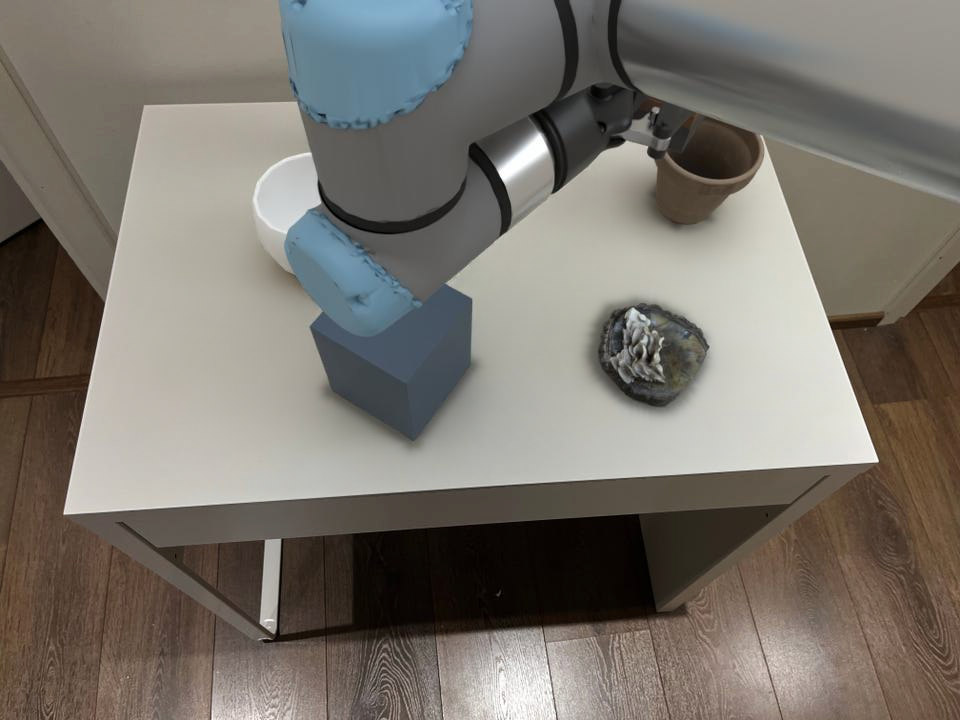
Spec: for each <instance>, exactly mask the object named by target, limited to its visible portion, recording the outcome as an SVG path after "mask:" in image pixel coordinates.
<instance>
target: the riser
mask: <svg viewBox="0 0 960 720" xmlns="http://www.w3.org/2000/svg"><path fill="white" fill-rule="evenodd" d="M473 300H474V299H473V298H472V297H470V296H468V295H466V294H465V293H464V292H461V291H459V290H458V289H456V288H454V287H452V286H451V285H448V284H447V283H445V284H444V285H443V286H442V287H441V288H440V289H438V290H437V291H436V292H435V293H434V294H432V295H431V296H430V297H429V298H428V299H426V300H425V301H424V302H423V303H422V304H423V305H422V306H421V307H420V308H418V309H412V310H411V311H409V312H408V313H407V314H405V315H404V316H403V317H401V318H400V319H398V320H397V321H396V322H394V323H393V324H392V325H390V326H389V327H388V328H386V329H385V330H384V331H382V332H381V333H379V334H377V335H374V336H370V337H363V336H358V335H355V334H352V333H350V332H348V331H347V330H345V329H343V328H342V327H340V326H339V325H338V324H337V323H335V322H334V321H333V320H332V319H331V318H330V317H329V316H328V315H327V314H326V313H325V312H324V311H323V310H322V312H320V314H319V315H318V316H317V317H316V318H315V319H314V321H313V322H312V323H311V324H310V325H309V330H310V332H311V336H312V338H313V341H314V344H315V346H316V350H317V352H318V355H319V358H320V360H321V363H322V366H323V369H324V372H325V375H326V377H327V380H328V383H329V386H330V388H331V391H333V392H334V393H335V394H337V395H339V396H340V397H342V398H344V399H346V400H347V401H349V402H350V403H352V404H353V405H355V406H357V407H358V408H360V409H362V410H363V411H364V412H366V413H368V414H370V415H372V416H374V417H375V418H376V419H377V420H379V421H382V422H383V423H384V424H386V425H388V426H389V427H391V428H392V429H394V430H395V431H397V432H399V433H401V434H402V435H404V436H406V437H407V438H408V439H410V440H412V441H416V440H417V438H418V437H419V436H420V434H421V433H422V431H423V430H424V428H425V427H426V426H427V425H428V423H429V422H430V421H431V419H432V418H433V416H434V415H435V414H436V413H437V411H438V410H439V408H440V407H441V406H442V404H443V403H444V402H445V400H446V399H447V397H448V396H449V395H450V394H451V392H452V391H453V389H455V387H456V385H457V384H458V383H459V381H460V380H461V379H462V377H463V376H464V374H465V373H466V372H467V371H468V369H469V368H470V366H471V365H472V364H471V363H472V332H473V331H472V329H473V303H474V302H473Z"/></svg>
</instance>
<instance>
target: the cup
mask: <svg viewBox="0 0 960 720" xmlns="http://www.w3.org/2000/svg"><path fill="white" fill-rule="evenodd" d="M317 181H318V176H317V172H316V168H315V165H314V161H313V157H312V154H311V151H310V152H303V153H299V154H295V155H291V156H288V157H285V158H283V159H282V160H280V161H278V162H276V163H274V164H273V165H271V166H270V167H268V169H266V171H265V172H264V174H262V175H261V176H260V178H259V179H258V180H257V181H256V182H255V183H256V184H255V188H254V191H253V194H252V199H251V216H252V220H253V224H254V227H255V230H256V234H257V236H258V239H259V241H260V244H261V246H262V248H263V249H264V250H265V251H266V253H267V254H268V255H270V257H272V259H273V260H274V261H276V263H277V264H278V265H279V266H280V267H281V268H282V269H283V270H284V271H286V272H288V273H289V274H292V275H294V276H296V275H295V274H294V272H293V270H292V268H291V266H290V264H289V262H288V260H287V257H286V253H285V249H284V242H285V240H286V236H287V233H288V230H289V228H290V227H291V226H292V225H294V224H295V223H296V222H297V221H298V220H299V219H300V218H301V217H302V216H304V215H305V213H306V212H307V210H308V209H311V208H314V207H317V206H318V205H320V204H321V200H320V196H319V193H318V187H317Z"/></svg>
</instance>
